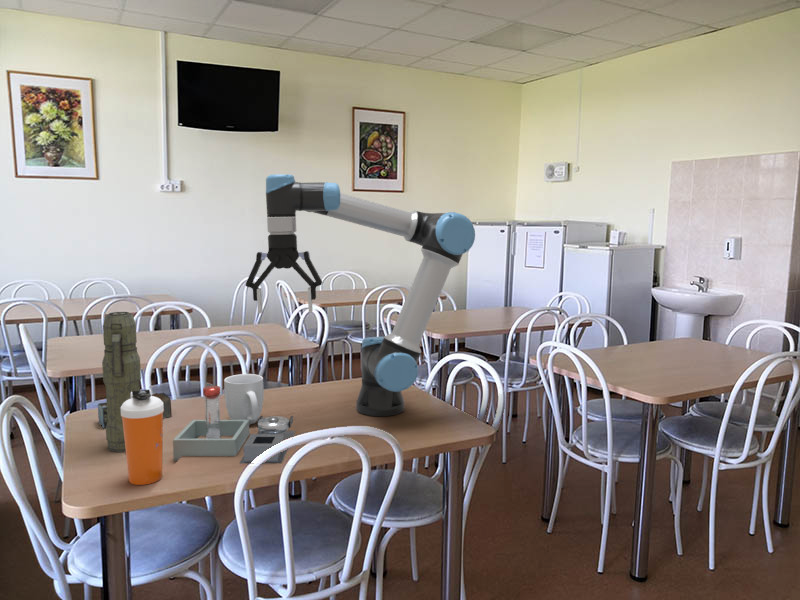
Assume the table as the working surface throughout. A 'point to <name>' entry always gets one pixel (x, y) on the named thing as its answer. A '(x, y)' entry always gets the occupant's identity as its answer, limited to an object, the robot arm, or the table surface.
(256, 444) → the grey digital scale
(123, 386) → the thermos
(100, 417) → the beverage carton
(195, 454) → the rectangular frame
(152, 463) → the shaker bottle
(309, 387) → the table surface
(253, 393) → the mug
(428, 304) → the robot arm
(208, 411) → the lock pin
